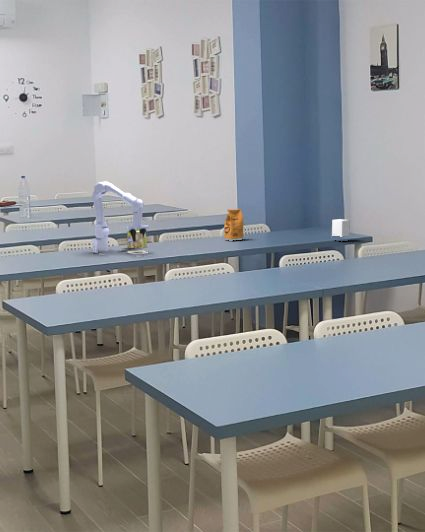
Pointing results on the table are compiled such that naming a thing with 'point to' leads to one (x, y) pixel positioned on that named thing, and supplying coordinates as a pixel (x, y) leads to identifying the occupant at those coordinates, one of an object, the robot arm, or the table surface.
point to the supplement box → (340, 227)
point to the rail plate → (129, 249)
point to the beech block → (138, 239)
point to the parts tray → (137, 251)
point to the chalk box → (130, 240)
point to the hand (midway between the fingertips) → (137, 241)
